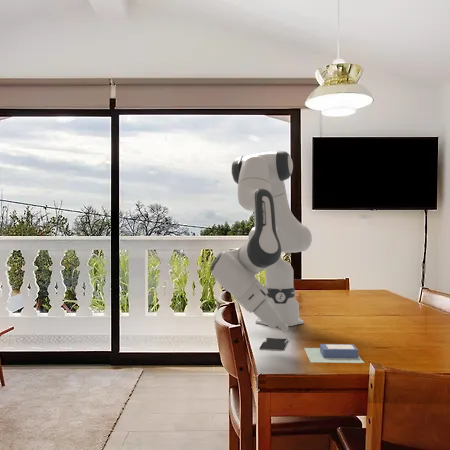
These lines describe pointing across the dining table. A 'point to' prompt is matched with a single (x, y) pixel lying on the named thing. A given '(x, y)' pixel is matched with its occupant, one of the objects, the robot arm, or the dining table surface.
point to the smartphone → (274, 344)
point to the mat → (316, 356)
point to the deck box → (338, 351)
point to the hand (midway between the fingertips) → (286, 329)
